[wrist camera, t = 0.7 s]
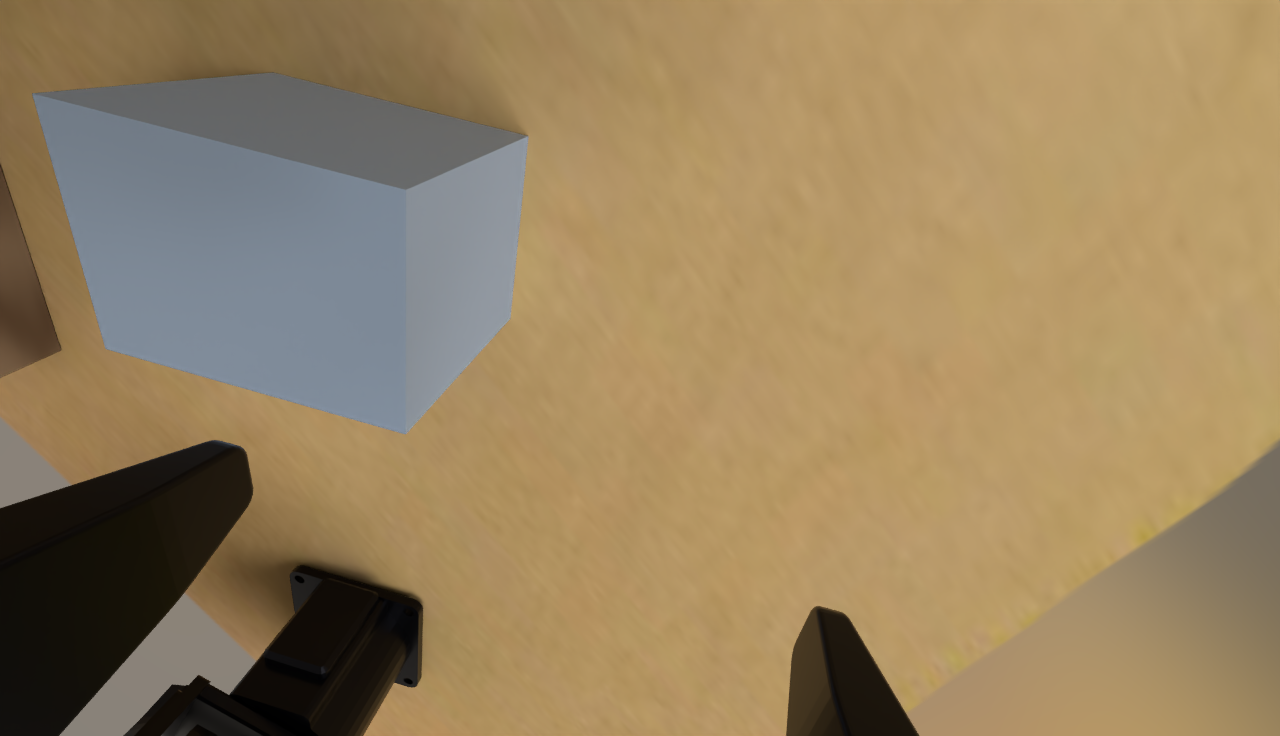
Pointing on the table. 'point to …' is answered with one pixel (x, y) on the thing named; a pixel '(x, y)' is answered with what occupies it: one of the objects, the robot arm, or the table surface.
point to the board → (20, 297)
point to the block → (290, 235)
